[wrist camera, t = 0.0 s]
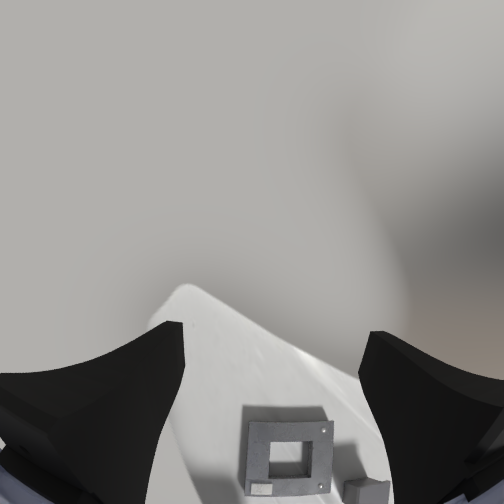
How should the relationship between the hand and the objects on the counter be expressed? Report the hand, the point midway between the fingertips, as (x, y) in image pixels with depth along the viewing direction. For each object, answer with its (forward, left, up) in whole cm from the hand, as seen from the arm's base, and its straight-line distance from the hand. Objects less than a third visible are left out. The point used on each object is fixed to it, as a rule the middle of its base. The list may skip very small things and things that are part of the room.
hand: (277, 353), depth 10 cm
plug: (-16, -17, -32) cm, 40 cm away
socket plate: (-9, -6, -32) cm, 34 cm away
